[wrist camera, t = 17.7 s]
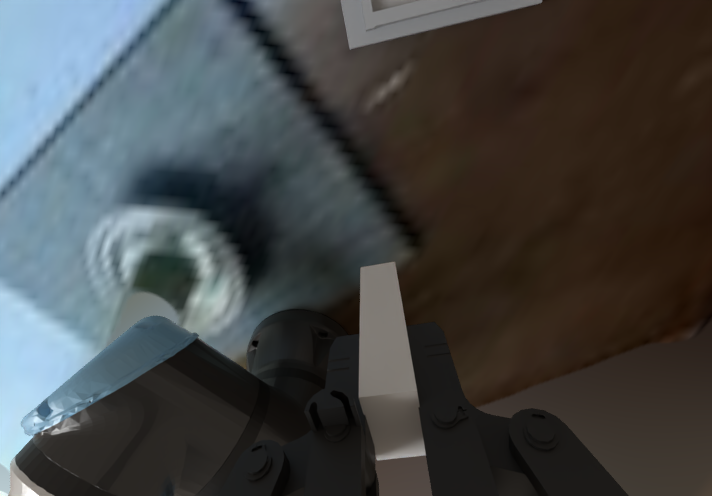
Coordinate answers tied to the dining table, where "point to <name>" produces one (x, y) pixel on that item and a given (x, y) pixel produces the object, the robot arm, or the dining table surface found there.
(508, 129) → the dining table surface
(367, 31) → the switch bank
